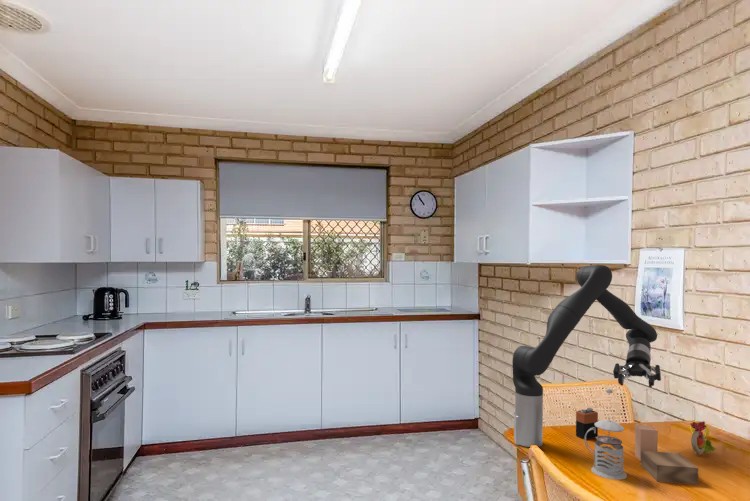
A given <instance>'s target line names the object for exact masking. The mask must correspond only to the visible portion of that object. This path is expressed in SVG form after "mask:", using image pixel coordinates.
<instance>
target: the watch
mask: <svg viewBox="0 0 750 501" xmlns="http://www.w3.org/2000/svg"><path fill="white" fill-rule="evenodd" d="M703 421H704V420H701V419H694V421H691V423H693V422H695V423H700V422H703ZM689 425H690V424H689ZM705 425H706V428H705V429H704V430H705V434H704V437H705V438H707V437H708V435H709V433H710V429H709V426H708V425H707V424H706V423H705ZM689 428H690V429H689V430H690V432H691V433H692V434H693V432H694V430H695V429H694V428H693V427H692V426H691V425H690V426H689Z"/></svg>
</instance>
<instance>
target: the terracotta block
mask: <svg viewBox="0 0 750 501" xmlns="http://www.w3.org/2000/svg"><path fill="white" fill-rule="evenodd" d="M658 431H659V430H657V429H656V428H655V427H654V426H653V425H651V424H650V425H649V424H648V425H647V424H637V423H636V424H634V455H635V457H636V458H637V459H638V460H639V461H640V462H641V451H654V452H658V448H659V447H658V446H659V445H658V442H659V441H658V434H659V433H658Z"/></svg>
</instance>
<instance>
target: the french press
mask: <svg viewBox="0 0 750 501" xmlns="http://www.w3.org/2000/svg"><path fill="white" fill-rule="evenodd" d="M605 393H608V394H613V390H612V388H606V389H605ZM594 424H595V427H597V428H598V430H602V431H605V432H612V433H613V432H614V433H621V432H624V430H625V428H624V426H622V425H621V424H620V423H618V422H616V421H614V420H610V419H606V420H605V419H601V420H598V422H596V423H594ZM593 428H594V427H593ZM593 428H590V429H589V430H588V431H587V432H586V434H585V437H584V438H585V439H584V445H585V447H586V449H588V451H589V452H590V453H592V454H593V466H592V467H591V468H590V470H591V472H592V473H593V474H594V475H596V476H599V477H602V478H605V479H610V480H618V481H619V480H624V479H625V480H626V478H627V477H628V475H627V473H626V472H625V471H624V446H623V445H622V444H623V441H622V440H621V439H619V438H618V437H615V436H610V435H607V434H606V435H598V436H597V437H596V438H595V439H596V441H595V442H594V449H592V448H591V447H590V446H589V444H588V442H587V439H586V435H587V433H588V432H589V431H590V430H594V433H596V428H595V429H593ZM602 445H603V446H602ZM607 445H608V446H607ZM605 453H607V454H605ZM604 457H605V458H604Z"/></svg>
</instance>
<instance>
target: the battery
mask: <svg viewBox="0 0 750 501" xmlns="http://www.w3.org/2000/svg"><path fill="white" fill-rule="evenodd" d="M598 417H599V413H598V412H597V411H595V410H594V408H592V407H587V408H586V409H580V410H576V411H575V436H576V437H578V438H581V439H582V440H585V438H584V437H585V434H586V432H587V431H588V430H589V429H590V428H593V427H594V428H593V429H595V428H596V433H594V430H590V431H589V432H588V433H587V435H586V440H590V439H594V438H595V439H596V437H597V436H599V435H598V432H599V428H597V427H595V424H594V423H596V422H598V421H599V418H598Z"/></svg>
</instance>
